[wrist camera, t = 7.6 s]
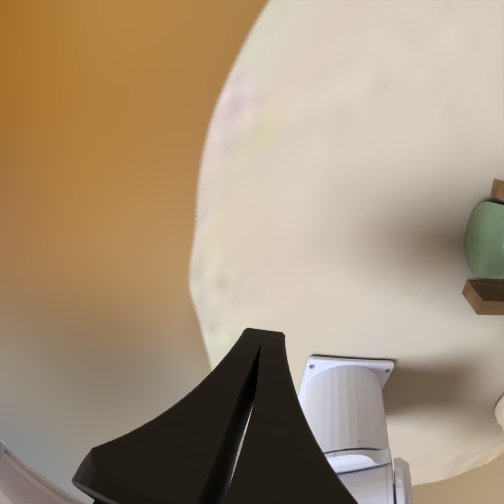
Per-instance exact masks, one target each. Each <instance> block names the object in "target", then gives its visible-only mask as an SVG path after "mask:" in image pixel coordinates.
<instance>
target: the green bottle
mask: <svg viewBox="0 0 504 504" xmlns="http://www.w3.org/2000/svg"><path fill="white" fill-rule="evenodd" d="M465 248H466V257H467V261H468V264H469V267H470V269H471V270H472V272H473V273H474V274H475V275H476V276H478V277H480V278H491V279H504V205H501V204H497V203H492V202H487V201H485V202H482V203H480V204H479V205H477V206H476V208H475V209H474V210H473V212H472V214H471V216H470V219H469V222H468V226H467V231H466V239H465Z"/></svg>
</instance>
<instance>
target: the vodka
mask: <svg viewBox="0 0 504 504" xmlns="http://www.w3.org/2000/svg"><path fill="white" fill-rule="evenodd" d="M495 417H496V420H497V422H498V424H500V426H501V427H502V429H503V431H504V394H503V396H502V397H501V398H500V400H499V402H498V403H497V405H496V408H495Z"/></svg>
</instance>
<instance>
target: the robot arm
mask: <svg viewBox="0 0 504 504" xmlns="http://www.w3.org/2000/svg"><path fill="white" fill-rule="evenodd" d="M311 365H313V366H311ZM393 368H394V362H393V361H385V360H360V359H343V358H330V357H318V356H311V357H309V358H308V360H307V364H306V368H305V372H304V376H303V380H302V384H301V388H300V391H299V395H298V397H297V394H296V391H295V388H294V385H293V381H292V377H291V373H290V370H289V365H288V361H287V355H286V348H285V335H284V334H283V332H275V331H268V330H260V329H253V328H246V329H245V330H244V331H243V333H242V335H241V336H240V338H239V339H238V341H237V342H236V343H235V345H234V346H233V347H232V349H231V350H230V351H229V353H228V354H227V355H226V356H225V357H224V358H223V360H222V361H221V362H220V363H219V364H218V365H217V367H216V368H215V369H214V370H213V371H212V372H211V373H210V374H209V375H208V376H207V377H206V378H205V379H204V380H203V381H202V382H201V383H200V384H199V385H198V386H197V387H196V388H194V389H193V390H192V391H191V392H190V393H189V394H188V395H186V396H185V397H184V398H183V399H181V400H180V401H179V402H178V403H176V404H175V405H174V406H172V407H171V408H169V409H168V410H167V411H165V412H164V413H162V414H161V415H159V416H158V417H156V418H155V419H153V420H151V421H150V422H148V423H146V424H144V425H142V426H141V427H139V428H137V429H135V430H133V431H131V432H130V433H128V434H125V435H123V436H121V437H119V438H117V439H114V440H112V441H109V442H107V443H105V444H102V445H99V446H97V447H94V448H92V449H91V451H90V452H89V453H88V455H87V456H86V457H85V458H84V460H83V461H82V463H81V464H80V466H79V468H78V470H77V472H76V473H75V475H74V477H73V479H72V483H73V485H74V486H76V487H77V488H78V489H80V490H81V491H82V492H84V493H85V494H87V495H88V496H90V497H91V498H93V499H94V500H95V501H94V503H93V504H413V503H412V486H411V476H410V469H409V464H408V462H406V461H404V460H402V458H396V459H394V467H395V470H394V481H393V468H392V459H391V451H390V449H389V440H388V432H387V424H386V417H385V410H384V404H383V397H382V389H383V387H384V385H385V383H386V382H387V380H388V378H389V376H390V374H391V372H392V370H393ZM386 369H387V370H386ZM253 403H254V404H253ZM252 406H253V408H252ZM251 409H252V411H251ZM250 412H251V415H250ZM249 415H250V419H249V423H248V427H247V430H246V434H245V438H244V441H243V445H242V448H241V452H240V455H239V458H238V461H237V465H236V468H235V472H234V475H233V477H232V473H233V468H234V464H235V460H236V456H237V452H238V448H239V445H240V441H241V438H242V436H243V433H244V430H245V427H246V424H247V421H248V418H249ZM231 477H232V480H231ZM230 481H231V483H230ZM394 482H395V484H394ZM229 485H230V486H229ZM0 504H86V503H84V502H82V501H81V500H79V499H77V498H76V497H74V496H73V495H71V494H69V493H68V492H66V491H65V490H63V489H61V488H60V487H59V486H57V485H56V484H54V483H53V482H51V481H50V480H48V479H47V478H46V477H44V476H43V475H41V474H40V473H39V472H37V471H36V470H35V469H33V468H32V467H31V466H29V465H28V464H27V463H26V462H25V461H23V460H22V459H21V458H20V457H19V456H18V455H16V454H15V453H14V452H13V451H12V450H11V449H10V448H8V447H7V446H6V444H5V443H4V442H3V441H2V440H1V439H0Z"/></svg>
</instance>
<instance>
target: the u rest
mask: <svg viewBox="0 0 504 504" xmlns="http://www.w3.org/2000/svg"><path fill="white" fill-rule="evenodd" d="M491 195H493V196H494V197H496V198H498V199H500V200H502V201H504V182H501V181H498V180H495V179H494V182H493V187H492V193H491ZM462 294H463V295H464V296H465V298H466V299H467V301H468V302H469V303H470V305H471V306H472V308H473V309H474V311H475V312H476V314H477V315H504V284H500V283H490V282H480V281H470V280H467V282H466V284H465V287H464V290H463V292H462Z"/></svg>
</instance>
